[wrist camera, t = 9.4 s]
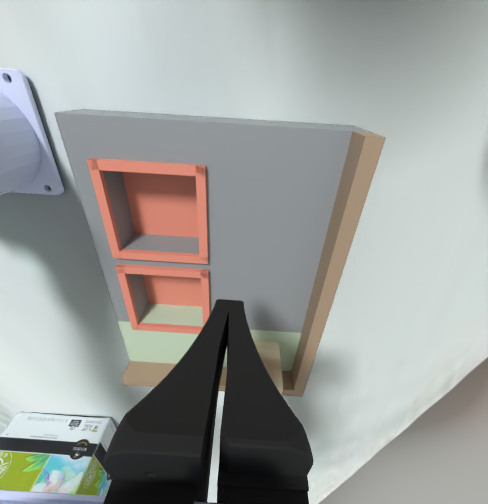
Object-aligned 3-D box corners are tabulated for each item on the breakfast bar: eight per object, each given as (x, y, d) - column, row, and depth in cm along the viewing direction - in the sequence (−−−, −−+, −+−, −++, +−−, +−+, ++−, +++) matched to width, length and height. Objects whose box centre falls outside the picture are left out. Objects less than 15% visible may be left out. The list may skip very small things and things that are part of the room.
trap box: (142, 343, 30) (123, 384, 26) (83, 109, 17) (27, 115, 13) (295, 353, 30) (302, 396, 26) (353, 125, 17) (385, 137, 13)
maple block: (229, 366, 27) (225, 412, 23) (231, 338, 24) (227, 384, 21) (272, 370, 27) (275, 416, 23) (278, 342, 24) (283, 388, 21)
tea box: (111, 414, 40) (45, 563, 27) (126, 442, 45) (77, 578, 32) (16, 409, 40) (-93, 555, 27) (42, 438, 45) (-39, 571, 33)
